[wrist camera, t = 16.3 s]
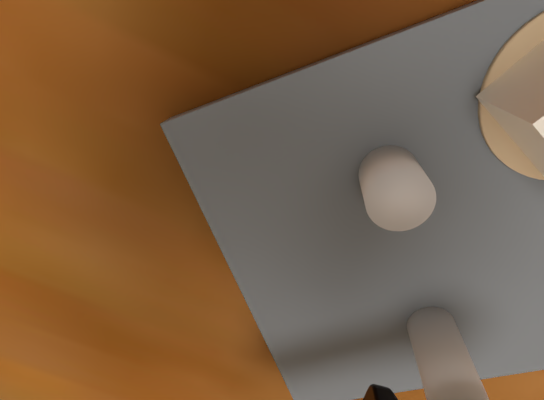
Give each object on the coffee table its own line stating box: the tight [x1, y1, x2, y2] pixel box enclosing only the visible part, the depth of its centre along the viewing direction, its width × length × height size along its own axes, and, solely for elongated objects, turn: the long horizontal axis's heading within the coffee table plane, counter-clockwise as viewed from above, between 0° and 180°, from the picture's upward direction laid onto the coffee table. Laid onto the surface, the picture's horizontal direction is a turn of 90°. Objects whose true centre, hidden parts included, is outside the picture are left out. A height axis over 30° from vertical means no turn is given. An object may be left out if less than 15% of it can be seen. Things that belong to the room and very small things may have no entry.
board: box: [160, 0, 544, 400], centre depth 17 cm, size 19×20×7 cm
